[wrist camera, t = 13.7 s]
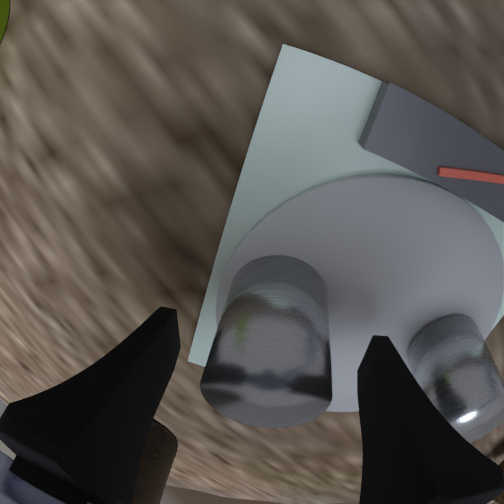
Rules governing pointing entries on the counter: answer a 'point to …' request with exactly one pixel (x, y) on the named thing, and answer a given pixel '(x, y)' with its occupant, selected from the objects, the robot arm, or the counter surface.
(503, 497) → the potato
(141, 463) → the pillar candle
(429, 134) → the scale
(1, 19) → the soap dispenser
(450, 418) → the cylinder
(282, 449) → the counter surface
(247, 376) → the cylinder
